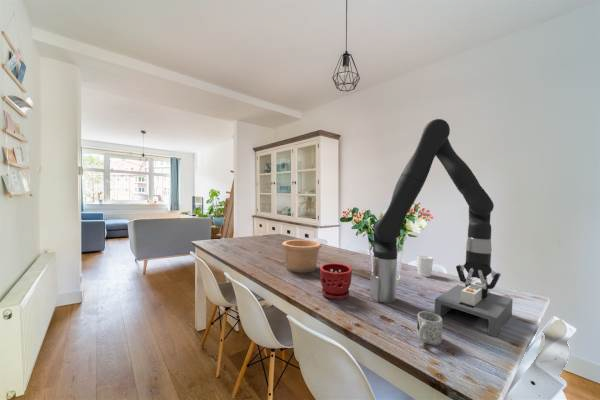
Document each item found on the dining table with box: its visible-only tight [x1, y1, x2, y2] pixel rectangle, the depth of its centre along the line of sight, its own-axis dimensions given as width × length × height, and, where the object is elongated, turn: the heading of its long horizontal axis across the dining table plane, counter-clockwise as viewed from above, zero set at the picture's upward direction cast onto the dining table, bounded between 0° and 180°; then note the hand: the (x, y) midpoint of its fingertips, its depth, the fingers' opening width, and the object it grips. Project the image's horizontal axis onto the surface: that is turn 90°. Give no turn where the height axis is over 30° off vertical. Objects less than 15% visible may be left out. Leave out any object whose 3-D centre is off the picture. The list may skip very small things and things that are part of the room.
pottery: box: [281, 239, 322, 274], centre depth 145 cm, size 22×22×14 cm
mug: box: [416, 311, 443, 346], centre depth 76 cm, size 10×7×7 cm, turn 133°
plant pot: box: [319, 262, 353, 300], centre depth 108 cm, size 13×13×12 cm
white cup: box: [416, 254, 434, 278], centre depth 140 cm, size 8×8×10 cm
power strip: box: [461, 278, 491, 308], centre depth 95 cm, size 20×4×7 cm, turn 131°
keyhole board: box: [433, 284, 514, 338], centre depth 94 cm, size 24×18×6 cm
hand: (476, 296), depth 95 cm, fingers closed on power strip, 4 cm apart
